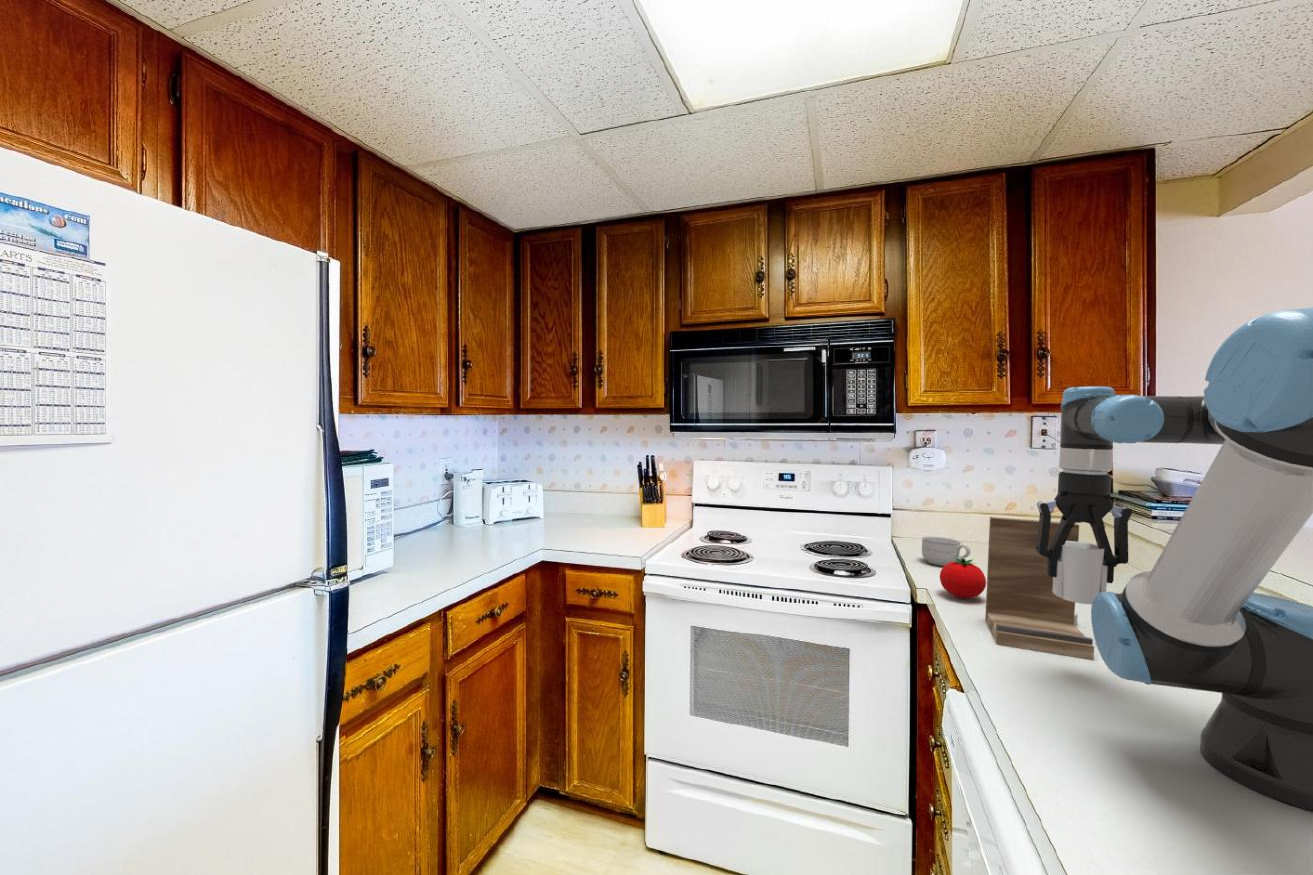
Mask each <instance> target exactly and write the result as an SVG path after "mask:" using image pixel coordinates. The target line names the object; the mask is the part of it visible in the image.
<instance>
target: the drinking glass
mask: <svg viewBox="0 0 1313 875" xmlns="http://www.w3.org/2000/svg"><path fill="white" fill-rule="evenodd" d="M1103 557H1104V549H1099V548H1098V546H1097V544H1095V543H1089V542H1083V541H1078V542H1076V541H1066V542H1065V545H1062V552H1061V554H1060V556H1059V560H1060V561H1062V562H1063V580H1062V597H1061V598H1062V599H1065V600H1068V601H1071V602H1075V604H1076V603H1077V604H1082V605H1092V602H1093V599H1094V597H1095V596H1096V595H1097V594H1098V593H1100V584H1101V575H1102V566H1103Z"/></svg>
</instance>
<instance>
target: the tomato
mask: <svg viewBox="0 0 1313 875" xmlns="http://www.w3.org/2000/svg"><path fill="white" fill-rule="evenodd" d="M955 559H956V560H957V561H958V562H957V561H954V562H950V563H948V564H946V565H945V566H942V568H941V570H940V573H939V581H940V584H941V586H942V588H943V589H944V591H946V592H947V593H948V594H950V595H952V596H953V597H956V598H959V599H973V598H976V597H979V596H980V595H981V594H982V593H983V592H984V591H985V589H986V588H987V578H986V575H985V574H984V572H983V570H982V569H981V568H980V567H978V566H977V565H975V564H977V563H976V562H973V561H974V559H969V560H966V558H964V559H961V560H960V559H958V558H956V557H955ZM951 561H952V560H951Z"/></svg>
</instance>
